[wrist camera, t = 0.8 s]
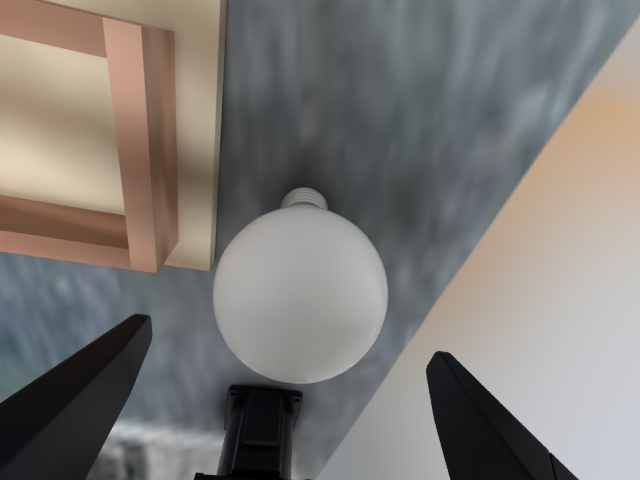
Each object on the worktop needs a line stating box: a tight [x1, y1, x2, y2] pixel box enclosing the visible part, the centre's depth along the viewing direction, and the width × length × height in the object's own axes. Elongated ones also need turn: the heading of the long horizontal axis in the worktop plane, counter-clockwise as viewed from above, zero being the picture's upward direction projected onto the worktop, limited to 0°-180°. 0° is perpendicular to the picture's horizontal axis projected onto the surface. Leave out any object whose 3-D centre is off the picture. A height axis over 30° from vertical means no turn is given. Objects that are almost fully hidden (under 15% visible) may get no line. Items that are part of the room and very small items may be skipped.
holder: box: [0, 0, 227, 273], centre depth 14 cm, size 14×14×4 cm
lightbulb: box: [213, 188, 388, 384], centre depth 14 cm, size 6×6×11 cm
